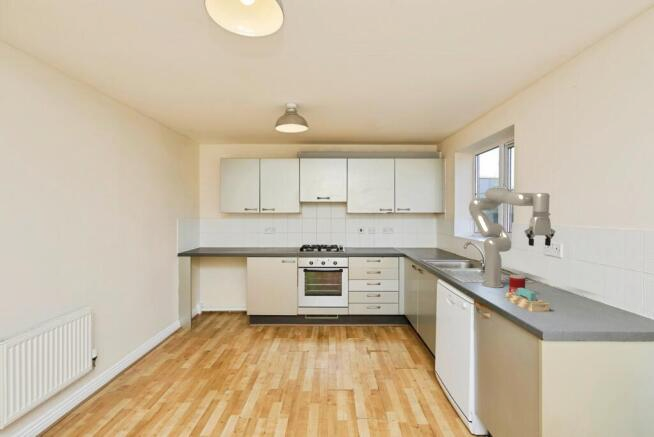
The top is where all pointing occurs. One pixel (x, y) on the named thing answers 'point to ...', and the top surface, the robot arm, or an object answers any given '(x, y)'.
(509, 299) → the tan slotted block
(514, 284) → the canned food
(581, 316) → the top surface
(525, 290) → the teal long block
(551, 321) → the top surface
